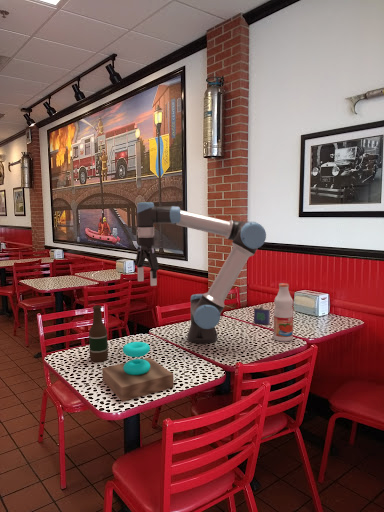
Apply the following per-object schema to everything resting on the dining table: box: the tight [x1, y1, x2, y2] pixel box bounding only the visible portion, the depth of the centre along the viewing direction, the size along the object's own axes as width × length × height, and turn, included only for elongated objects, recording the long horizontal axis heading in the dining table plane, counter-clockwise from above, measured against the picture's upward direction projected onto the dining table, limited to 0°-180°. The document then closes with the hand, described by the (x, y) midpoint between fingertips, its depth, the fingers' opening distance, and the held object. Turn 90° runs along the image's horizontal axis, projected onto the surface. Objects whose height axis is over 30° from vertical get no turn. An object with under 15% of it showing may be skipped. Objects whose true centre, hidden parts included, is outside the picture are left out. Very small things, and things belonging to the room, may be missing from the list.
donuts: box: [122, 341, 151, 375], centre depth 146 cm, size 10×10×10 cm
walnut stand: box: [101, 357, 175, 402], centre depth 147 cm, size 20×20×5 cm
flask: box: [253, 305, 271, 326], centre depth 223 cm, size 9×3×11 cm, turn 61°
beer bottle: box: [88, 304, 109, 363], centre depth 171 cm, size 8×8×24 cm
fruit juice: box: [273, 282, 294, 342], centre depth 196 cm, size 9×9×28 cm
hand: (147, 283), depth 179 cm, fingers open, 13 cm apart
